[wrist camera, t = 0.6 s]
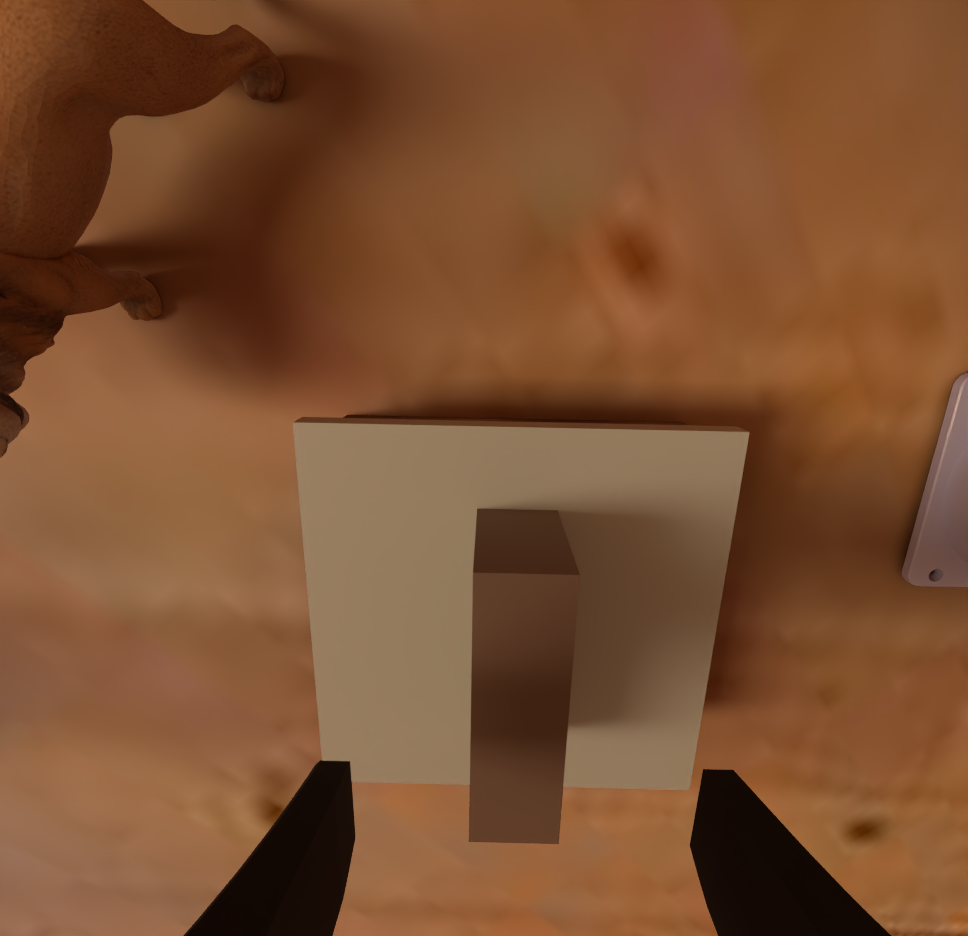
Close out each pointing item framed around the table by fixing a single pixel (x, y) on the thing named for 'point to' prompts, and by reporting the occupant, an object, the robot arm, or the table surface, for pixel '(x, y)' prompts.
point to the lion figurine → (86, 151)
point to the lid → (515, 603)
